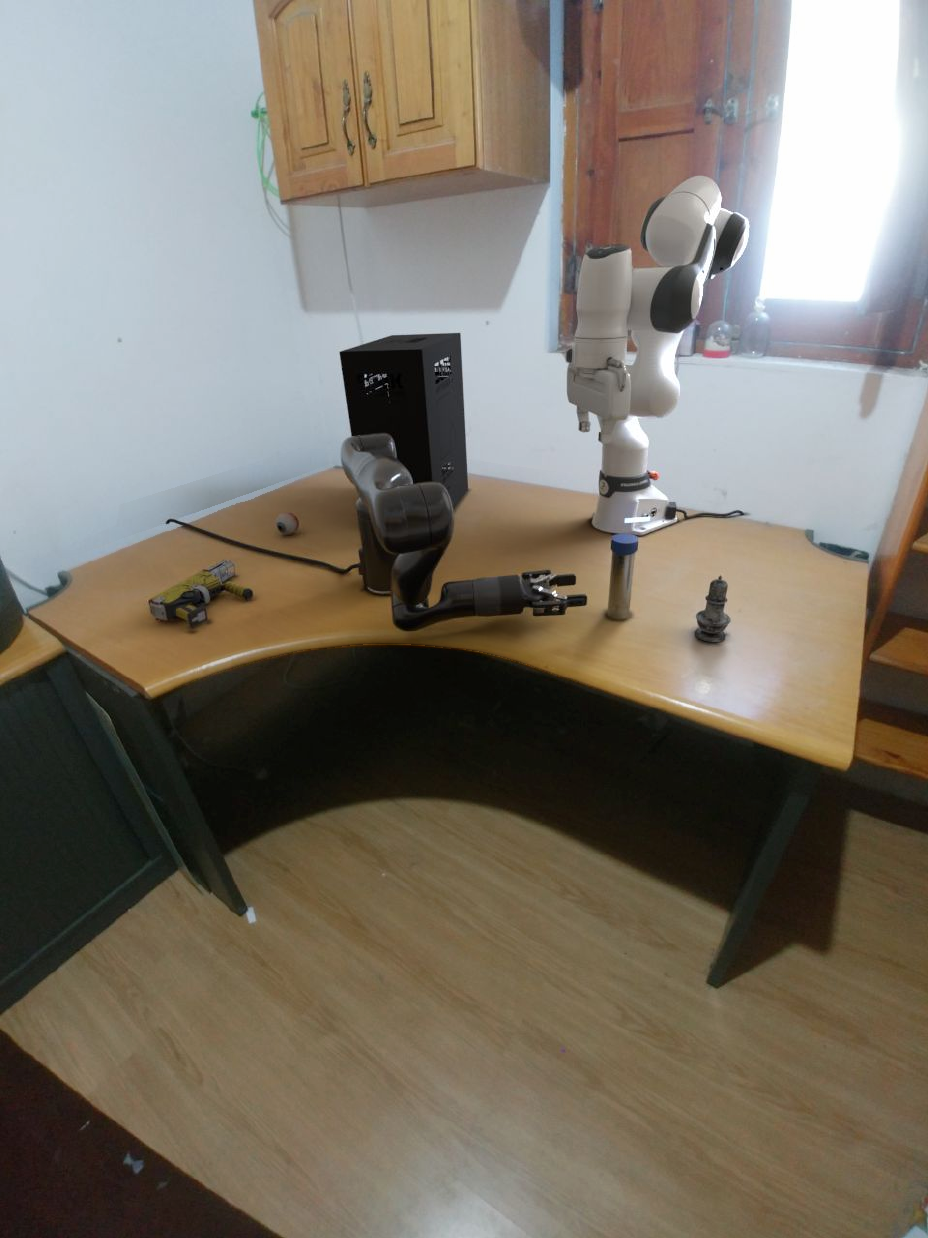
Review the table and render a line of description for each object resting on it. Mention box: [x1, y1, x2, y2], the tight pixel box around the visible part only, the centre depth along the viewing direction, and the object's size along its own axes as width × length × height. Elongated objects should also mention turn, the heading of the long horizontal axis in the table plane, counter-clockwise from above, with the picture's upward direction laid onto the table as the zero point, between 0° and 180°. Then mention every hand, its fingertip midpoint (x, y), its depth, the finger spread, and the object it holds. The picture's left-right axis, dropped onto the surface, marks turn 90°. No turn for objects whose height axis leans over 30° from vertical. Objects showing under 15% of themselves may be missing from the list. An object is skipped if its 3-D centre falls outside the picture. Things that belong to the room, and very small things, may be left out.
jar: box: [606, 550, 636, 621], centre depth 115 cm, size 4×4×16 cm
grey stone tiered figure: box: [694, 575, 731, 643], centre depth 107 cm, size 6×6×12 cm
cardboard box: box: [339, 332, 469, 511], centre depth 166 cm, size 38×20×45 cm, turn 167°
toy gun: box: [148, 558, 254, 629], centre depth 131 cm, size 5×24×15 cm
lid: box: [609, 533, 639, 555], centre depth 111 cm, size 5×5×2 cm
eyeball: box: [275, 511, 300, 536], centre depth 163 cm, size 6×6×6 cm
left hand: (580, 589), depth 115 cm, fingers open, 8 cm apart
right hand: (593, 436), depth 111 cm, fingers open, 8 cm apart
